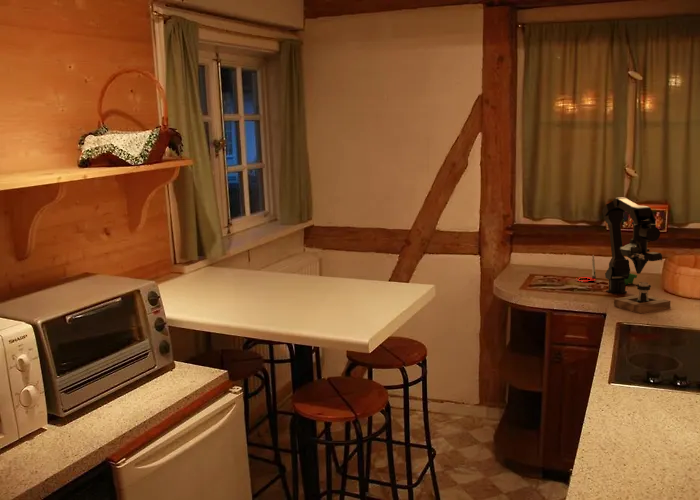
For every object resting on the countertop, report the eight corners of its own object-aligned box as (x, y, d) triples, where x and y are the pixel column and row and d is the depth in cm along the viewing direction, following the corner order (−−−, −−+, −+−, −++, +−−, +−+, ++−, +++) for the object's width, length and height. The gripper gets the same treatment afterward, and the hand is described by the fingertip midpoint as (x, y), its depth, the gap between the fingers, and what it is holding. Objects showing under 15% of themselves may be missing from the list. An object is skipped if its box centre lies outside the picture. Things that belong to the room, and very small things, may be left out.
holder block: (613, 305, 276) (614, 298, 275) (643, 300, 282) (643, 293, 281) (640, 313, 263) (640, 306, 263) (670, 308, 269) (670, 300, 269)
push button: (633, 308, 271) (634, 284, 270) (631, 304, 276) (632, 281, 275) (651, 308, 269) (651, 284, 268) (649, 305, 274) (650, 281, 273)
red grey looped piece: (575, 283, 320) (596, 283, 317) (575, 257, 318) (595, 256, 316) (575, 279, 328) (595, 279, 325) (574, 254, 326) (594, 253, 323)
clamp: (631, 293, 313) (640, 277, 308) (619, 291, 312) (628, 275, 307) (620, 278, 323) (629, 263, 319) (609, 276, 322) (618, 261, 318)
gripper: (608, 235, 280) (607, 271, 283) (643, 242, 263) (641, 280, 266) (628, 232, 284) (627, 268, 287) (664, 239, 267) (662, 277, 270)
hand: (638, 273), depth 277 cm, fingers closed
